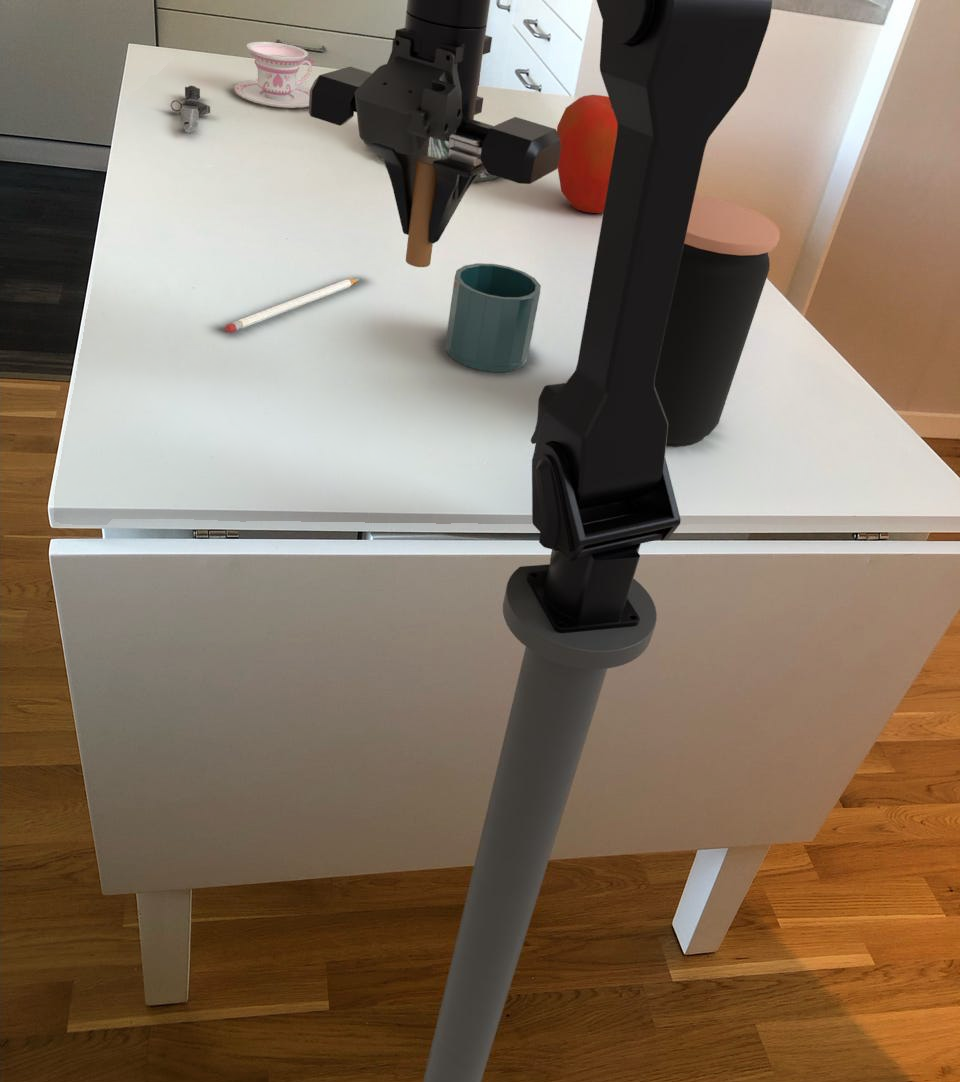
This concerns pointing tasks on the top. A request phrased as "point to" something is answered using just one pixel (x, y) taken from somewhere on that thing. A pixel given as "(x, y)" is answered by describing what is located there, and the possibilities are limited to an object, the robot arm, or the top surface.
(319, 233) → the top surface
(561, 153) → the apple
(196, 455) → the top surface
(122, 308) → the top surface
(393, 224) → the top surface
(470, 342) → the teal cup
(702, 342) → the coffee jar
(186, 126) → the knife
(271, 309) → the pencil
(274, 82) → the teacup
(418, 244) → the tan wooden dowel
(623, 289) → the robot arm
